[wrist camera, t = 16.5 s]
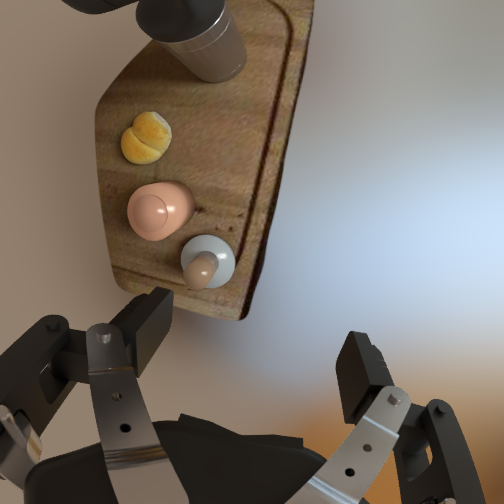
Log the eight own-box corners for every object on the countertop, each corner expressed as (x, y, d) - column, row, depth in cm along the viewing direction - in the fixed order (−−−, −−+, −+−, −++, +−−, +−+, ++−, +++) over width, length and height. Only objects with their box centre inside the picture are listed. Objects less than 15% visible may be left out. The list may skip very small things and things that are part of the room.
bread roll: (119, 144, 43) (106, 143, 39) (152, 106, 40) (141, 102, 37) (146, 175, 44) (135, 177, 40) (181, 137, 42) (172, 135, 38)
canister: (142, 198, 45) (115, 207, 37) (177, 170, 43) (153, 173, 35) (168, 236, 47) (145, 252, 38) (204, 210, 45) (186, 222, 36)
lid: (174, 250, 47) (155, 266, 40) (216, 222, 45) (202, 234, 37) (205, 291, 49) (191, 314, 42) (247, 267, 47) (239, 287, 39)
